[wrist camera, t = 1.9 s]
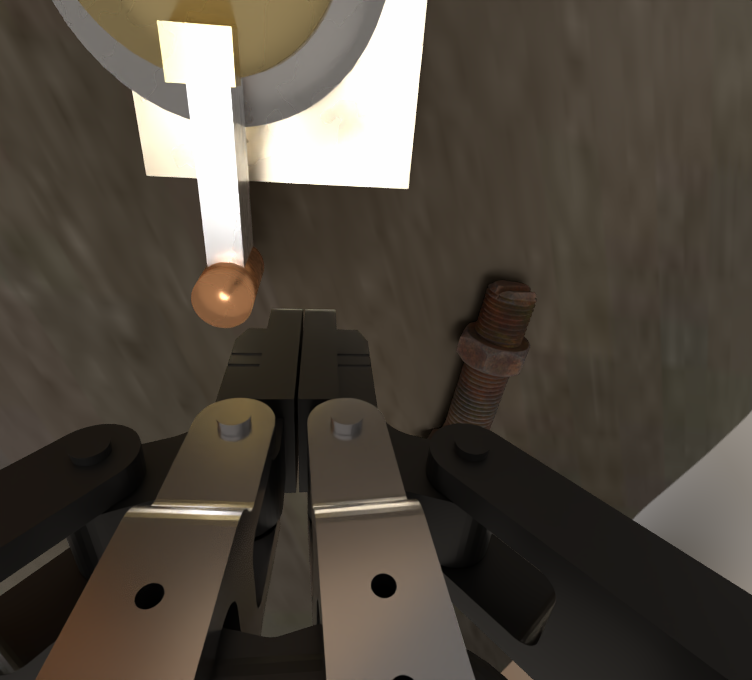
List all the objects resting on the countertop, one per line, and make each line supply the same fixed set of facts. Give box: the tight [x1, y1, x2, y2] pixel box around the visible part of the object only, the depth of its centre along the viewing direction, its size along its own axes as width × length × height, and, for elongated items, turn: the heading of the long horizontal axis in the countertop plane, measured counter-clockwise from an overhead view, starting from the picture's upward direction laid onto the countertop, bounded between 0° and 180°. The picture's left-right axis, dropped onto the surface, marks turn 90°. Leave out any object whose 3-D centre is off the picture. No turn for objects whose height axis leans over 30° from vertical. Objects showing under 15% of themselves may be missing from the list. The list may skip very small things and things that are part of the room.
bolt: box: [427, 280, 537, 440], centre depth 33 cm, size 6×5×15 cm
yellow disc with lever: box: [78, 0, 333, 328], centre depth 18 cm, size 20×10×4 cm, turn 176°
